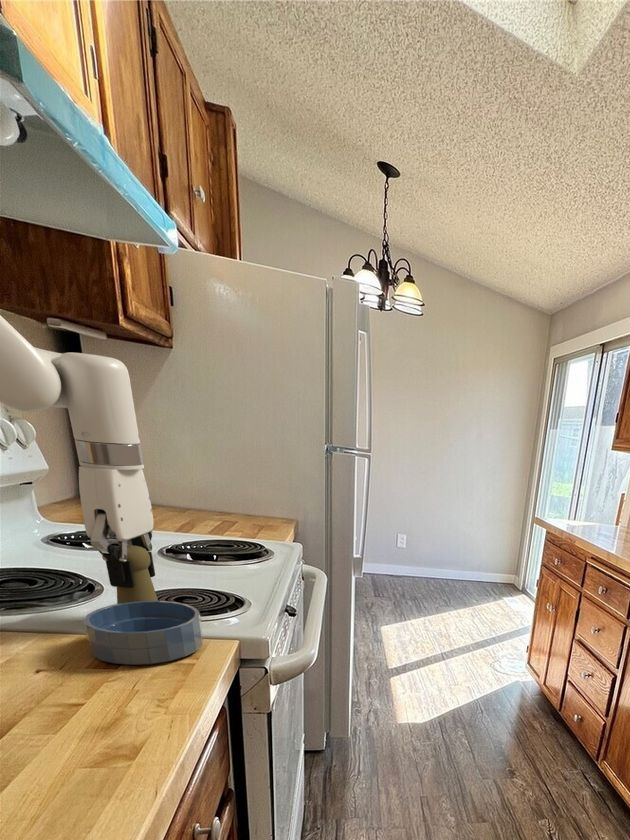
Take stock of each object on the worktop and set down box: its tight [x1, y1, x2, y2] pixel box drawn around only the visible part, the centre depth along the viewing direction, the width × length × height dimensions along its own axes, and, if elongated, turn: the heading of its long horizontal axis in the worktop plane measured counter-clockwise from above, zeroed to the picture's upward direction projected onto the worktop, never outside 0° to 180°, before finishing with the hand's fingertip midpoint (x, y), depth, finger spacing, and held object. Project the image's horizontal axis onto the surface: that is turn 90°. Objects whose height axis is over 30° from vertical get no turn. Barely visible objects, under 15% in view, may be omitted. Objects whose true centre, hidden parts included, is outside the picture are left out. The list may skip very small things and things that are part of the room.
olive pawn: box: [114, 544, 159, 604], centre depth 85 cm, size 6×6×11 cm
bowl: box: [83, 600, 204, 666], centre depth 79 cm, size 14×14×5 cm
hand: (133, 580), depth 85 cm, fingers closed on olive pawn, 5 cm apart
